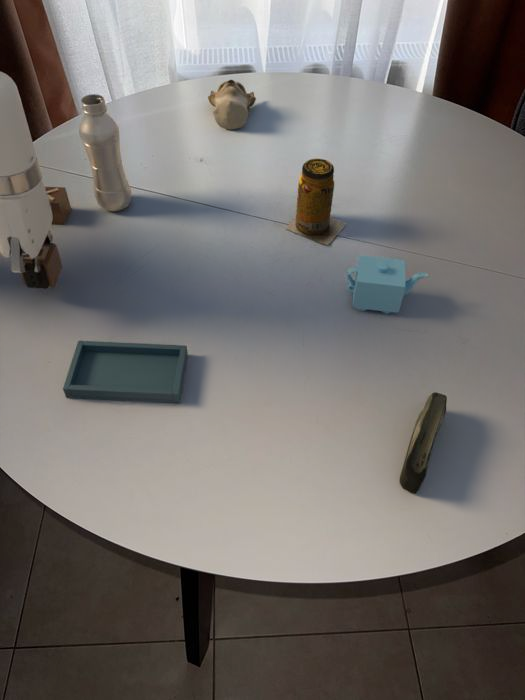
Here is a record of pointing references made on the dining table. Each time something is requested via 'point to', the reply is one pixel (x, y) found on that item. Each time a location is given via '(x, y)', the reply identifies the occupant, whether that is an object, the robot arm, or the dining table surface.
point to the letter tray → (126, 371)
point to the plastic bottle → (104, 154)
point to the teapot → (380, 283)
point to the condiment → (316, 203)
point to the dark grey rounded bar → (422, 442)
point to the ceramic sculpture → (231, 104)
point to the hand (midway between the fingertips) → (43, 273)
